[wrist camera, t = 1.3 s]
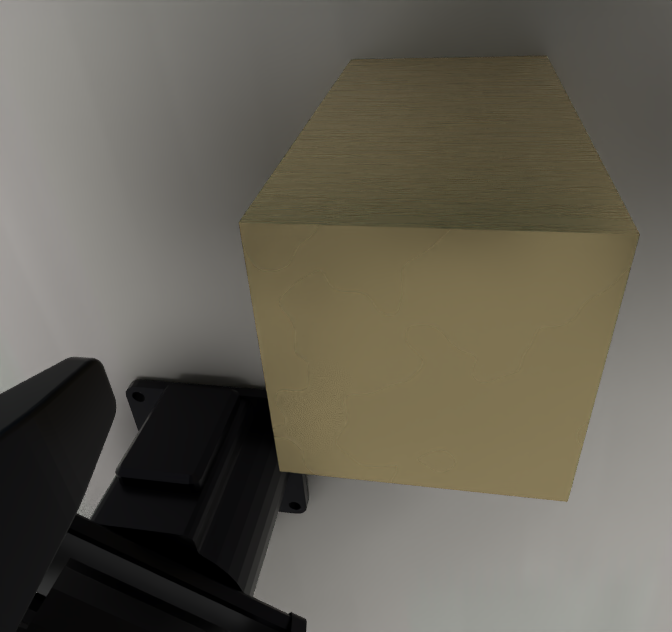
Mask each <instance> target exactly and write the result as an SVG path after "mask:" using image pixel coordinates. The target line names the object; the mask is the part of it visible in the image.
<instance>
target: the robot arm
mask: <svg viewBox="0 0 672 632" xmlns="http://www.w3.org/2000/svg"><path fill="white" fill-rule="evenodd" d="M126 397H127V399H128V402H129V405H130V408H131V411H132V414H133V417H134V419H135V422H136V425H137V428H138V431H139V432H138V434H137V435H136V437H135V439H134V440H133V442H132V444H131V445H130V447H129V448H128V450H127V452H126V453H125V455H124V457H123V458H122V460H121V462H120V463H119V465H118V467H117V468H116V476H115V478H114V479H113V481H112V483H111V484H110V486H109V488H108V489H107V491H106V493H105V494H104V496H103V498H102V499H101V501H100V503H99V504H98V506H97V508H96V509H95V511H94V513H93V514H92V516H91V518H90V519H88V518H86V517H84V516H81V515H79V514H77V511H78V509H79V506H80V504H81V502H82V499H83V497H84V495H85V492H86V490H87V487H88V484H89V482H90V479H91V477H92V474H93V472H94V469H95V467H96V464H97V461H98V459H99V456H100V454H101V451H102V449H103V446H104V443H105V441H106V438H107V436H108V433H109V431H110V428H111V425H112V423H113V420H114V417H115V414H116V400H115V396H114V394H113V391H112V388H111V385H110V383H109V380H108V377H107V374H106V372H105V369H104V366H103V364H102V363H101V362H100V361H99V360H97V359H95V358H84V357H70V358H67V359H65V360H63V361H61V362H59V363H57V364H56V365H54V366H52V367H50V368H48V369H46V370H44V371H43V372H41V373H39V374H37V375H35V376H33V377H31V378H29V379H28V380H26V381H24V382H22V383H20V384H18V385H16V386H14V387H13V388H11V389H9V390H7V391H5V392H3V393H1V394H0V632H306V624H307V621H306V619H305V618H303V617H301V616H298V615H296V614H294V613H292V612H290V613H289V614H287V613H285V612H283V611H281V610H279V609H277V608H274V607H272V606H270V605H268V604H266V603H264V602H262V601H260V600H258V599H256V598H254V597H253V594H254V591H255V588H256V584H257V581H258V578H259V574H260V571H261V568H262V564H263V561H264V558H265V555H266V551H267V548H268V545H269V541H270V538H271V535H272V531H273V528H274V525H275V521H276V518H277V515H278V511H279V512H287V513H303V512H305V511H306V508H307V505H308V500H309V498H308V490H307V483H306V475H305V474H301V473H292V472H282V471H280V470H279V463H278V457H277V451H276V445H275V439H274V433H273V427H272V421H271V415H270V409H269V403H268V397H267V391H266V390H261V389H248V388H236V387H223V386H211V385H199V384H186V383H174V382H161V381H149V380H135V381H133V382H132V383H131V385H130V386H129V387H128V389H127V391H126ZM36 592H37V593H36Z"/></svg>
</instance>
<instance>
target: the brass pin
mask: <svg viewBox="0 0 672 632" xmlns="http://www.w3.org/2000/svg"><path fill="white" fill-rule="evenodd" d="M239 228H240V234H241V240H242V246H243V252H244V258H245V264H246V270H247V276H248V282H249V288H250V294H251V300H252V306H253V312H254V318H255V324H256V330H257V336H258V342H259V349H260V355H261V361H262V367H263V373H264V379H265V385H266V391H267V397H268V403H269V409H270V415H271V421H272V427H273V433H274V439H275V445H276V451H277V457H278V463H279V470H280V471H282V472H292V473H301V474H311V475H320V476H330V477H339V478H348V479H358V480H367V481H377V482H386V483H396V484H405V485H415V486H424V487H434V488H443V489H452V490H462V491H471V492H481V493H490V494H500V495H509V496H519V497H528V498H538V499H547V500H556V501H566V502H568V498H569V495H570V491H571V487H572V483H573V480H574V476H575V472H576V469H577V465H578V461H579V458H580V454H581V450H582V446H583V443H584V439H585V435H586V432H587V428H588V424H589V420H590V417H591V413H592V409H593V406H594V402H595V398H596V394H597V391H598V387H599V383H600V380H601V376H602V372H603V369H604V365H605V361H606V357H607V354H608V350H609V346H610V343H611V339H612V335H613V331H614V328H615V324H616V320H617V317H618V313H619V309H620V306H621V302H622V298H623V294H624V291H625V287H626V283H627V280H628V276H629V272H630V268H631V265H632V261H633V257H634V254H635V250H636V246H637V243H638V239H639V235H640V234H639V232H638V230H637V228H636V226H635V225H634V223H633V221H632V219H631V217H630V215H629V213H628V211H627V209H626V207H625V205H624V203H623V201H622V200H621V198H620V196H619V194H618V192H617V190H616V188H615V186H614V184H613V182H612V180H611V178H610V176H609V175H608V173H607V171H606V169H605V167H604V165H603V163H602V161H601V159H600V157H599V155H598V153H597V151H596V150H595V148H594V146H593V144H592V142H591V140H590V138H589V136H588V134H587V132H586V130H585V128H584V126H583V125H582V123H581V121H580V119H579V117H578V115H577V113H576V111H575V109H574V107H573V105H572V103H571V101H570V100H569V98H568V96H567V94H566V92H565V90H564V88H563V86H562V84H561V82H560V80H559V78H558V76H557V75H556V73H555V71H554V69H553V67H552V65H551V63H550V61H549V59H548V57H547V56H502V57H453V58H404V59H355V60H351V61H350V62H349V63H348V65H347V66H346V68H345V69H344V71H343V72H342V74H341V75H340V76H339V78H338V79H337V81H336V82H335V84H334V85H333V87H332V88H331V90H330V91H329V92H328V94H327V95H326V97H325V98H324V100H323V101H322V103H321V104H320V105H319V107H318V108H317V110H316V111H315V113H314V114H313V116H312V117H311V119H310V120H309V121H308V123H307V124H306V126H305V127H304V129H303V130H302V132H301V133H300V134H299V136H298V137H297V139H296V140H295V142H294V143H293V145H292V146H291V148H290V149H289V150H288V152H287V153H286V155H285V156H284V158H283V159H282V161H281V162H280V163H279V165H278V166H277V168H276V169H275V171H274V172H273V174H272V175H271V176H270V178H269V179H268V181H267V182H266V184H265V185H264V187H263V188H262V190H261V191H260V192H259V194H258V195H257V197H256V198H255V200H254V201H253V203H252V204H251V205H250V207H249V208H248V210H247V211H246V213H245V214H244V216H243V217H242V219H241V220H240V221H239Z"/></svg>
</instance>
